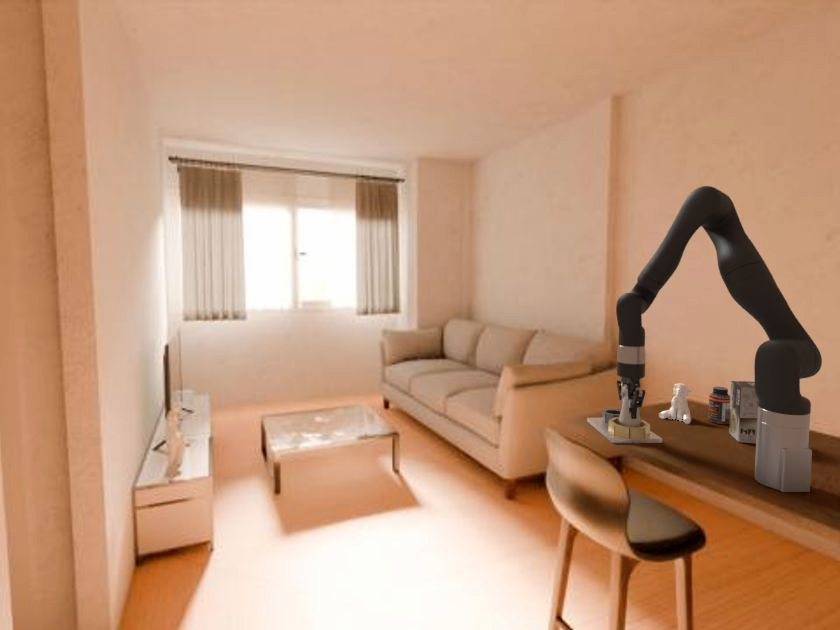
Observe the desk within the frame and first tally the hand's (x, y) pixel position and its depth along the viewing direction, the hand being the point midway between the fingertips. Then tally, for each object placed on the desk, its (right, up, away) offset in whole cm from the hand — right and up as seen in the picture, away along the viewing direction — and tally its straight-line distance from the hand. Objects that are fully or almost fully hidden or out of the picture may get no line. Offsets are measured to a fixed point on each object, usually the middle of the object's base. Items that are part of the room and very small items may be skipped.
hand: (629, 417), depth 135 cm
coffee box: (+33, -6, -2) cm, 34 cm away
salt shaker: (0, -3, 0) cm, 3 cm away
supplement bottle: (+35, -5, +13) cm, 38 cm away
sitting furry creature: (+24, -4, +17) cm, 30 cm away
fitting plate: (0, -5, +5) cm, 7 cm away
